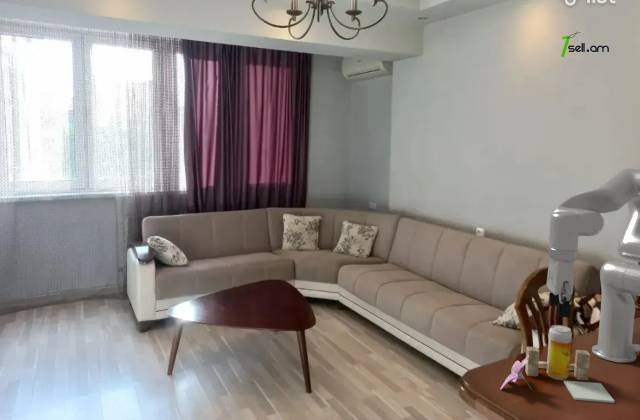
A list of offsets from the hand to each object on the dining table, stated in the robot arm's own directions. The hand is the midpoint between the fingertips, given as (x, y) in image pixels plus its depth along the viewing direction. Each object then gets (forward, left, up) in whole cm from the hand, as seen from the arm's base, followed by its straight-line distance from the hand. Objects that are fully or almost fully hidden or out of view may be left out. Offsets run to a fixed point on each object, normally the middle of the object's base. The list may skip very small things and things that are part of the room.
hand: (559, 311), depth 147 cm
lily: (+13, +9, -21) cm, 26 cm away
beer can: (-1, 0, -21) cm, 21 cm away
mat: (-7, +9, -20) cm, 23 cm away
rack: (-1, -3, -20) cm, 21 cm away
